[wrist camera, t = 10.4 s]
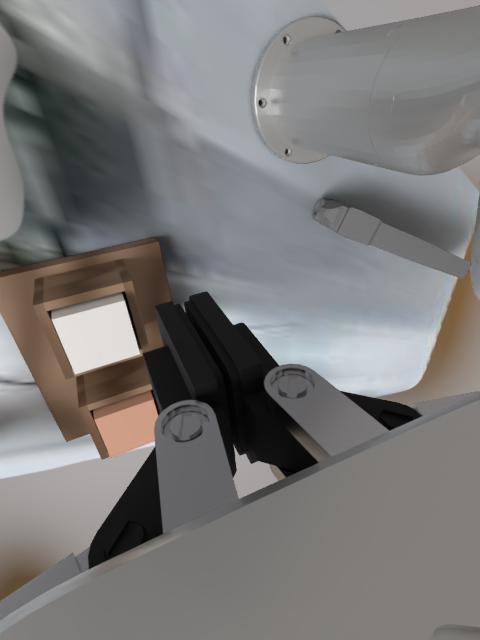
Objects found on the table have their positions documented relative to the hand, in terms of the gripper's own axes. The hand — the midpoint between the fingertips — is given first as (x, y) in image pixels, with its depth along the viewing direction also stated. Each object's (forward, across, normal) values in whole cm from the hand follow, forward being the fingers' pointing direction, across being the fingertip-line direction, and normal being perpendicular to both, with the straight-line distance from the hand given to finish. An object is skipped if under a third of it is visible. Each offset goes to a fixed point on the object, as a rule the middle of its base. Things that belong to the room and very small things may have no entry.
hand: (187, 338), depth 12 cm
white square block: (+26, +4, +12) cm, 29 cm away
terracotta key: (+26, +4, +24) cm, 36 cm away
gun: (+30, -34, +13) cm, 47 cm away
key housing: (+29, +4, +18) cm, 34 cm away
